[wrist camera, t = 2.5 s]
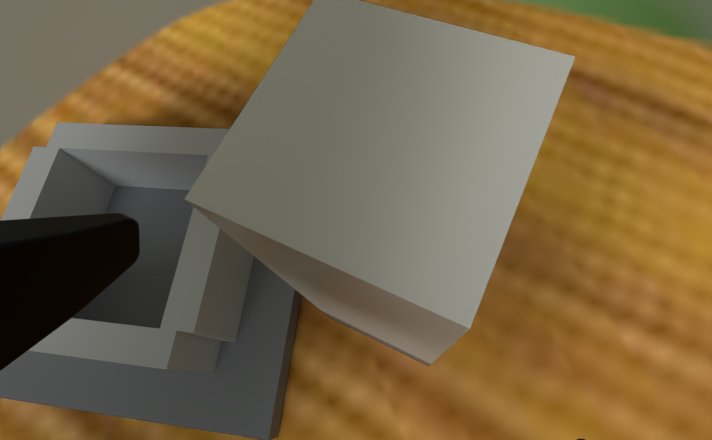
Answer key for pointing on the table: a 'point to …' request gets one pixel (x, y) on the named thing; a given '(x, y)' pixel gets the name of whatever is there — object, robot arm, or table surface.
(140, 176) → the socket
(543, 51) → the plug
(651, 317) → the table surface
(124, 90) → the table surface
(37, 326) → the robot arm
